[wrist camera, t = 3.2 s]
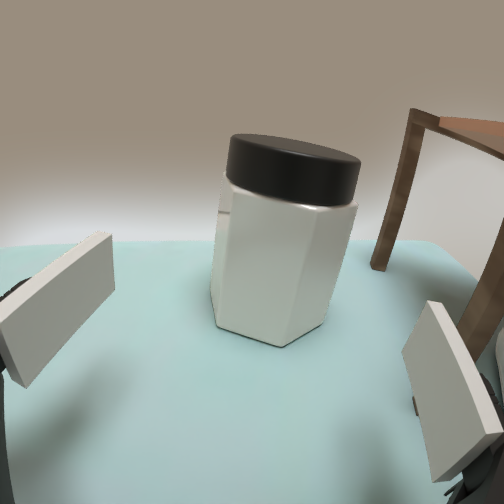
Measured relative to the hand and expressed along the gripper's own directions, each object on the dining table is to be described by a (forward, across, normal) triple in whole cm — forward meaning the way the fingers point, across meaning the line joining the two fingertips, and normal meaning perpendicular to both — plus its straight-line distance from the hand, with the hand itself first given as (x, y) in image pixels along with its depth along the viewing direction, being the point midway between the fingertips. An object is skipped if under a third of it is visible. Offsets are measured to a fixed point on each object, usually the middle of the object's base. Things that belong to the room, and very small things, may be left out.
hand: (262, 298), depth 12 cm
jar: (+10, 0, -7) cm, 12 cm away
